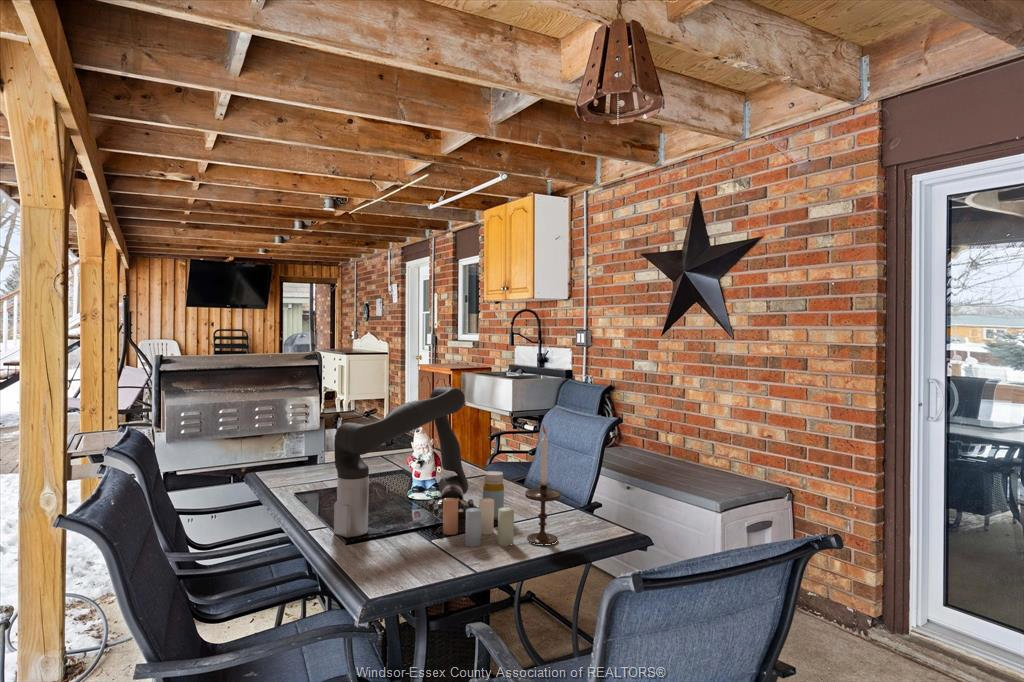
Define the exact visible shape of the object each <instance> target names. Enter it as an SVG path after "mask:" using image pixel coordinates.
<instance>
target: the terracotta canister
mask: <svg viewBox="0 0 1024 682" xmlns="http://www.w3.org/2000/svg"><path fill="white" fill-rule="evenodd" d="M458 533H459V511H458V499H456V498H447V499H444V500H443V512H442V534H443V535H447V536H453V535H457V534H458Z"/></svg>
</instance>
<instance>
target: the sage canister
mask: <svg viewBox="0 0 1024 682" xmlns="http://www.w3.org/2000/svg"><path fill="white" fill-rule="evenodd" d="M514 521H515V509H514V508H511V507H504V508H500V509H498V520H497V545H498V544H499V545H498V546H500V545H502V546H501V547H509V546H508V545H511V544H513V545H514V530H515V529H514V528H515V525H514V524H515V522H514Z"/></svg>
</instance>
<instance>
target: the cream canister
mask: <svg viewBox="0 0 1024 682" xmlns="http://www.w3.org/2000/svg"><path fill="white" fill-rule="evenodd" d="M478 508H479V509H481V510H482V514H481V535H482V534H485V535H484V536H488V535H487V534H490V535H493V534H494V531H495V530H494V528H495V527H494V525H495V523H494V522H495V521H494V500H493V499H490V498H483V497H482V498H480V499H478ZM492 533H493V534H492Z"/></svg>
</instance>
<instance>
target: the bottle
mask: <svg viewBox="0 0 1024 682" xmlns="http://www.w3.org/2000/svg"><path fill="white" fill-rule="evenodd" d="M503 482H504V473H503V472H502V471H500V470H499V471H498V470H488V471H485V472H484V484H483V487H482V499H483V498H490V499H493V500H494V520H495V521H498V520H497V519H498V509H500V508H505V507H504V505H505V502H504V501H505V500H504V499H505V486H504V483H503Z"/></svg>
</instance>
